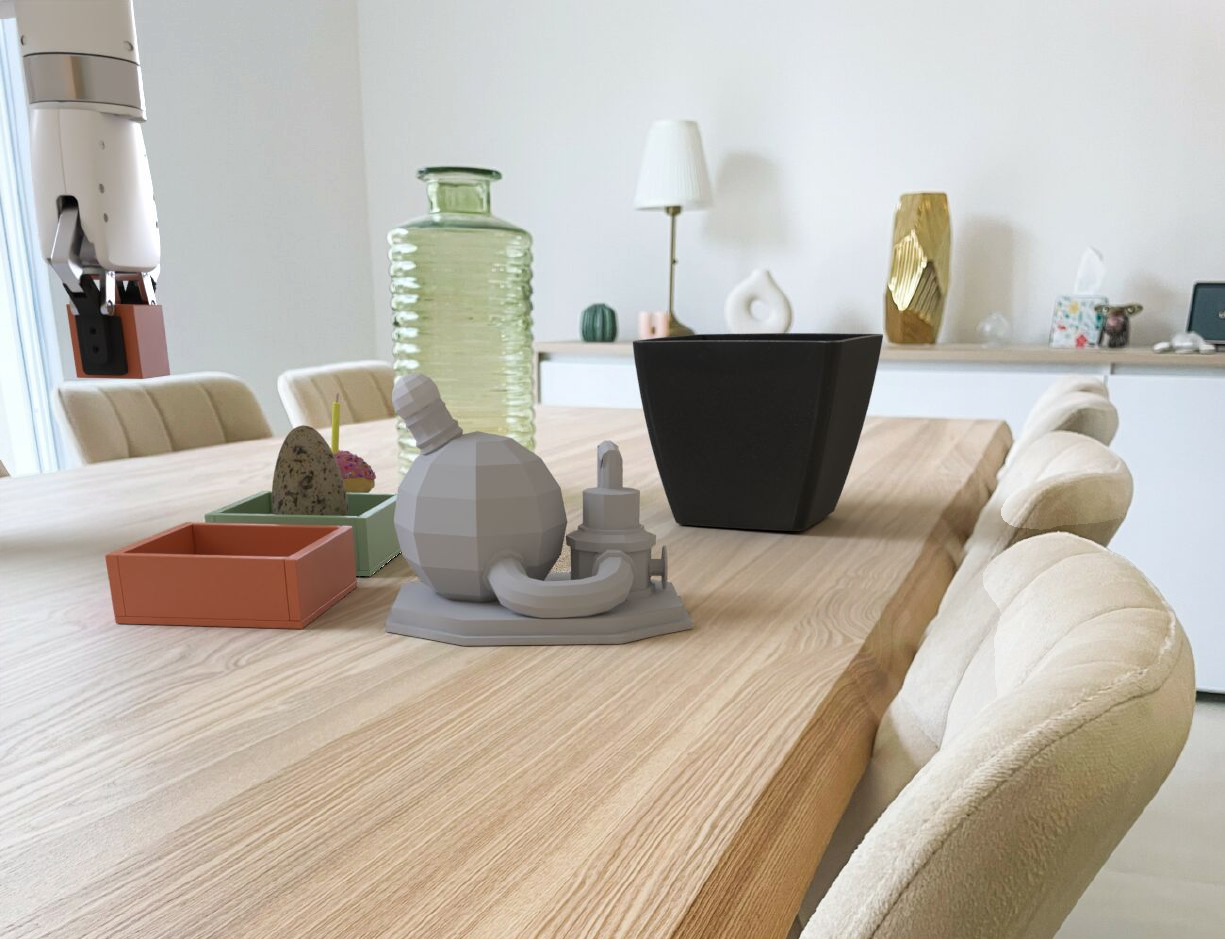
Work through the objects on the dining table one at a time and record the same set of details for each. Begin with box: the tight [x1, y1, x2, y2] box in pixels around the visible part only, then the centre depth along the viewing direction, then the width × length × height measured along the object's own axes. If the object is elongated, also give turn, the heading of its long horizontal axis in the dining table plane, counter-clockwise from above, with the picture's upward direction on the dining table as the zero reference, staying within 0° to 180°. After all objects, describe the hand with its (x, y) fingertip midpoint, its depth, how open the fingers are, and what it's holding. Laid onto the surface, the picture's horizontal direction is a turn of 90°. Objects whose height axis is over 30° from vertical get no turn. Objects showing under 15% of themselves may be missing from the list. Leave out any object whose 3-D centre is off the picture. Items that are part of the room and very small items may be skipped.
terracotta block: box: [65, 303, 171, 380], centre depth 91 cm, size 5×5×5 cm
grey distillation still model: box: [385, 372, 694, 647], centre depth 80 cm, size 20×15×15 cm
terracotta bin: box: [104, 521, 358, 630], centre depth 85 cm, size 13×13×4 cm
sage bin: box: [203, 490, 401, 577], centre depth 99 cm, size 13×13×4 cm
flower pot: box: [632, 332, 884, 532], centre depth 116 cm, size 19×19×17 cm
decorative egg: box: [271, 424, 348, 516], centre depth 98 cm, size 6×6×10 cm
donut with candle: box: [330, 392, 377, 493], centre depth 111 cm, size 9×8×12 cm
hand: (123, 370), depth 92 cm, fingers closed on terracotta block, 5 cm apart
